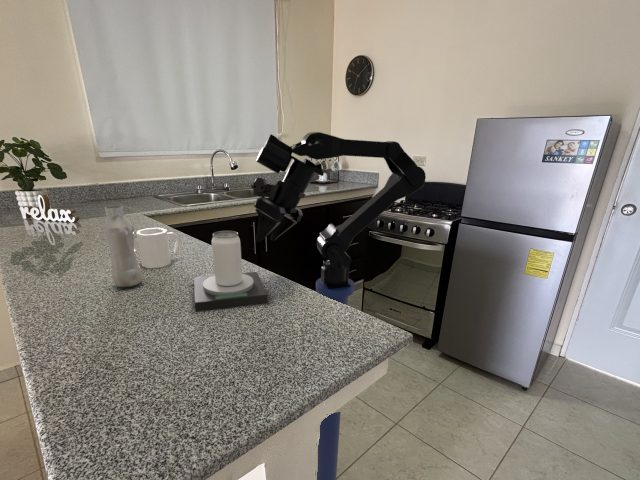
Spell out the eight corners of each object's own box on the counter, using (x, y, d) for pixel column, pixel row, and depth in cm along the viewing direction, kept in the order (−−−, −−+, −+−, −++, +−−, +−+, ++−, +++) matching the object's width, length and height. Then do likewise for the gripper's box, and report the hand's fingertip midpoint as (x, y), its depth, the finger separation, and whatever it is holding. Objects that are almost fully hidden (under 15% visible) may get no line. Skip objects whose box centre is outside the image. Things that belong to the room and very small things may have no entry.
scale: (256, 279, 95) (256, 268, 94) (267, 302, 82) (267, 290, 80) (195, 285, 90) (193, 273, 89) (195, 311, 77) (194, 298, 76)
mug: (145, 270, 99) (139, 236, 95) (138, 261, 105) (132, 230, 101) (187, 262, 106) (184, 230, 102) (178, 254, 112) (174, 224, 108)
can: (237, 288, 81) (233, 238, 77) (210, 285, 82) (205, 236, 78) (246, 277, 87) (243, 231, 83) (221, 275, 88) (217, 229, 83)
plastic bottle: (116, 281, 91) (99, 205, 83) (144, 278, 93) (131, 203, 85) (112, 291, 85) (94, 210, 78) (142, 288, 88) (128, 208, 80)
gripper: (280, 172, 92) (253, 224, 96) (250, 159, 74) (219, 223, 78) (315, 193, 91) (287, 245, 94) (294, 185, 73) (260, 249, 76)
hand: (264, 240), depth 86 cm, fingers open, 9 cm apart
